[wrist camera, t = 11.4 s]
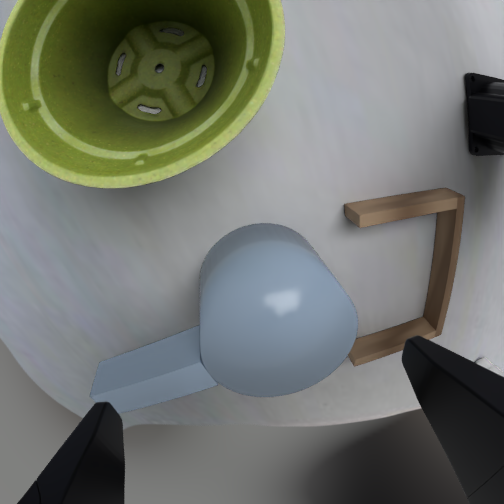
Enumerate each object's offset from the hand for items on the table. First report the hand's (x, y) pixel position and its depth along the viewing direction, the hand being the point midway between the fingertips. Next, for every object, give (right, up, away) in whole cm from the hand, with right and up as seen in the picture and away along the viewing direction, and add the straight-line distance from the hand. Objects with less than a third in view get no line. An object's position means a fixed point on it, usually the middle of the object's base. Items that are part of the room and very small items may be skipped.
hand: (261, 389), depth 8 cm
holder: (+11, +2, +14) cm, 18 cm away
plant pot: (-5, +14, +6) cm, 16 cm away
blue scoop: (-3, 0, +13) cm, 13 cm away
